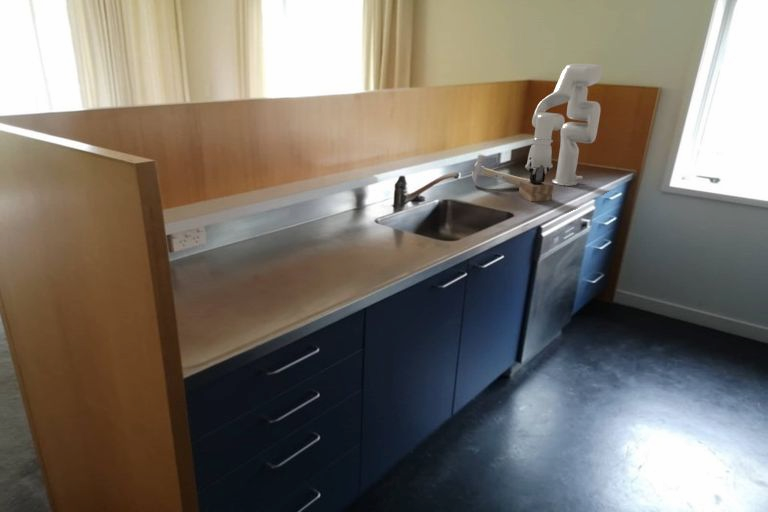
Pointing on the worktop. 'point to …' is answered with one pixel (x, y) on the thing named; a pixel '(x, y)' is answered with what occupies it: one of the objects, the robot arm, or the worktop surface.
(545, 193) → the socket block
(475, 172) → the hammer
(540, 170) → the dark grey capped cylinder
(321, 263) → the worktop surface
